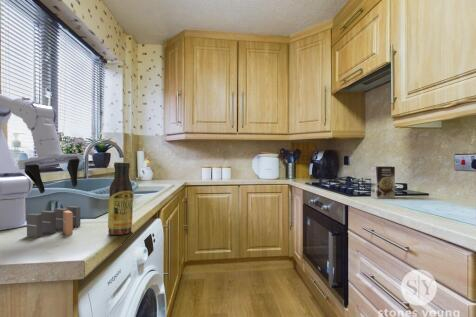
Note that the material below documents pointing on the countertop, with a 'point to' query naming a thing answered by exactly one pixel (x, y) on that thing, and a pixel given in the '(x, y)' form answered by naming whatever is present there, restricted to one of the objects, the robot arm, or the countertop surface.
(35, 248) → the countertop surface
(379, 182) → the coffee box
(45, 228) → the domino
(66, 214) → the domino
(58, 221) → the domino
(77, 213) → the domino
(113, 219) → the sauce bottle
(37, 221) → the domino
